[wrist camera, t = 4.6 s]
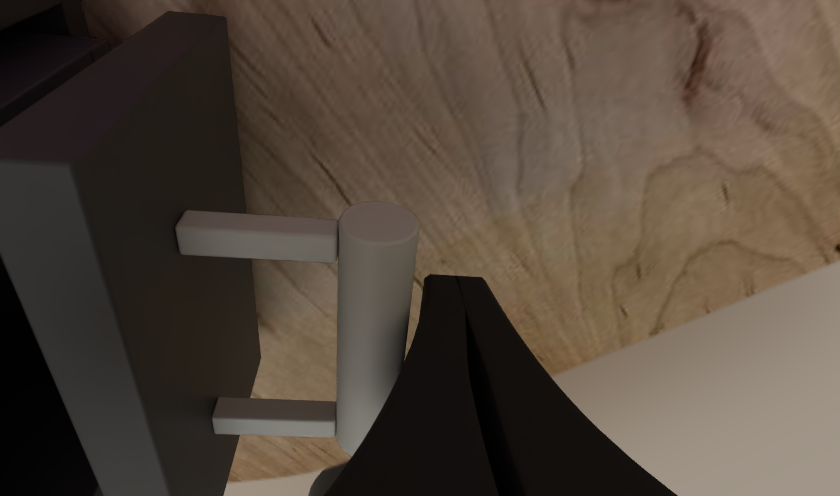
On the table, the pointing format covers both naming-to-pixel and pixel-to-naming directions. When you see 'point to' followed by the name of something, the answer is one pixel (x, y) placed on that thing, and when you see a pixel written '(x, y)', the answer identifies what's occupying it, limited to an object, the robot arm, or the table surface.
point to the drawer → (160, 272)
